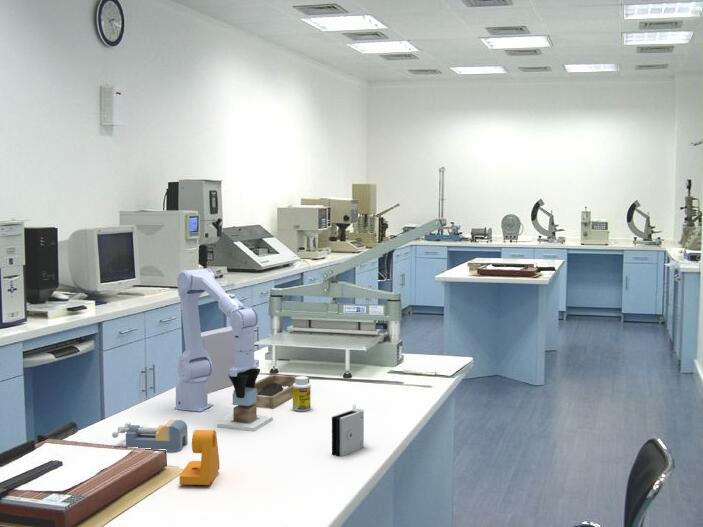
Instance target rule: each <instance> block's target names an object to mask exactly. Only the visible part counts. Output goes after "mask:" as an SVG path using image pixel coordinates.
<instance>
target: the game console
mask: <svg viewBox="0 0 703 527" xmlns="http://www.w3.org/2000/svg"><path fill="white" fill-rule="evenodd" d="M201 338H202V348H203V349H204V350H205V351H207V352H208V353H209V354H210V360H211V362H212V365H213V371H212V374H211V375H210V376H209V379H208V380H207V394H209V393H212V392H216V391H218V390H222V389H224V388H228V387H232V386H233V383H232V381H231V380H230V378H229V370H230V369H231V368H232V367H233V366H234V364H235V351H234V335H233V333H232V327H231V325H230V326H226V327H220V328H216V329H211V330H207V331H203V332H202V331H201ZM195 359H200V358H195ZM191 360H194V359H191Z"/></svg>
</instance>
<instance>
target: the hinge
mask: <svg viewBox="0 0 703 527" xmlns="http://www.w3.org/2000/svg"><path fill="white" fill-rule="evenodd" d="M356 407H357V405H356V404H353V405H352V408H351V409H350V410H347V411H343V412H341V413H337V414H334V415H332V416H331V455H332V456H336V457H344V456H346V455H349V454H351V453H353V452H356V451H359V450H361V449H362V448H364V443H365V442H364V438H365V433H364V432H365V431H364V425H365V420H364V419H365V418H364V416H365V415H364V411H365V410H364V409H363V408H356Z"/></svg>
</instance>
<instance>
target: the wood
mask: <svg viewBox="0 0 703 527" xmlns="http://www.w3.org/2000/svg"><path fill="white" fill-rule="evenodd" d="M282 390H284V386H282V385H281V384H278V383H269V384H267V385H266V386H265V387H264V388H263V389H262V391H260V392H259V393H258V394H257V395H262V396H273V395H275V394H277V393H279V392H281V391H282Z"/></svg>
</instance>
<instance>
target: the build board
mask: <svg viewBox="0 0 703 527" xmlns="http://www.w3.org/2000/svg"><path fill="white" fill-rule="evenodd" d="M272 421H274V420H273V416H272V415H271V416H268V415H260V414H257V418H256V419H255V420H253V421H251V422H249V423H245V422H236V421H234V419H233V414H232V415H230V416H228V417H227V418H224V419H223V420H221V421H218V422H217V423H216V427H217V428H223V429H224V428H225V429H232V430H239V431H241V430H242V431H249V432H255V431H257V430H259V429H260V428H262V427H264V426H266V425H267V424H268V423H270V422H272Z"/></svg>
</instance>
